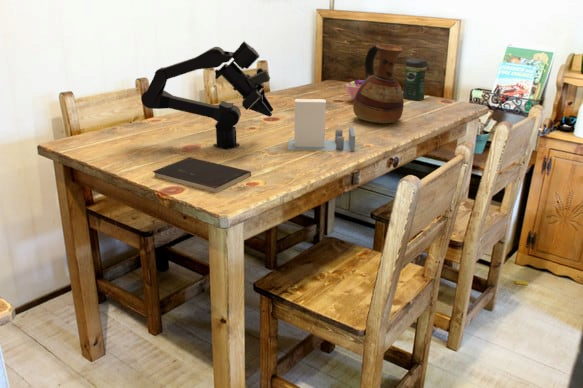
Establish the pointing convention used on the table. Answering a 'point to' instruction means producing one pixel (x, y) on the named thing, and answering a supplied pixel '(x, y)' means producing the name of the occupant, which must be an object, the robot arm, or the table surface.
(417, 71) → the coffee jar
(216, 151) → the table surface
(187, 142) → the table surface
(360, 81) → the cell model
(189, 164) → the hardcover book
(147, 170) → the table surface
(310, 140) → the panel
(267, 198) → the table surface
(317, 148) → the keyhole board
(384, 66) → the ceramic pitcher
